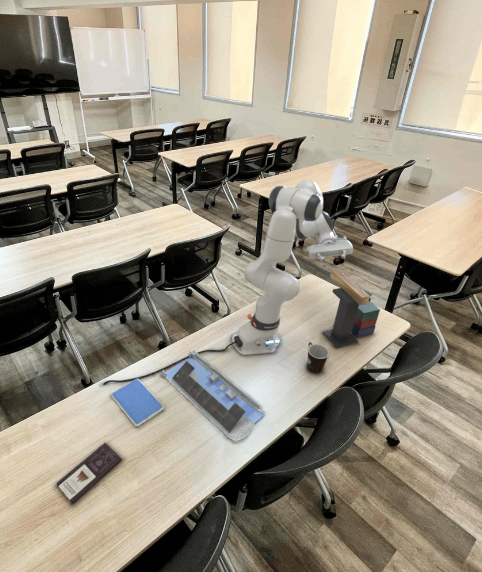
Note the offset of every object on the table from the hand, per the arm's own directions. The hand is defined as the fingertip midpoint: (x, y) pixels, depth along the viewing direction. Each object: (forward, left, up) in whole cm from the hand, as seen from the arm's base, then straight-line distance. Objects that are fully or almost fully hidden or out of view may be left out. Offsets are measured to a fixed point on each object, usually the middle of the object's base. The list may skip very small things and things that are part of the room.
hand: (333, 258), depth 164 cm
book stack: (+14, -11, -35) cm, 39 cm away
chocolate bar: (-114, -47, -35) cm, 128 cm away
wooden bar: (+1, -13, -9) cm, 16 cm away
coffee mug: (-20, -28, -36) cm, 49 cm away
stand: (+1, -16, -35) cm, 39 cm away
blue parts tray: (-67, -29, -36) cm, 81 cm away
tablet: (-96, -24, -36) cm, 105 cm away
